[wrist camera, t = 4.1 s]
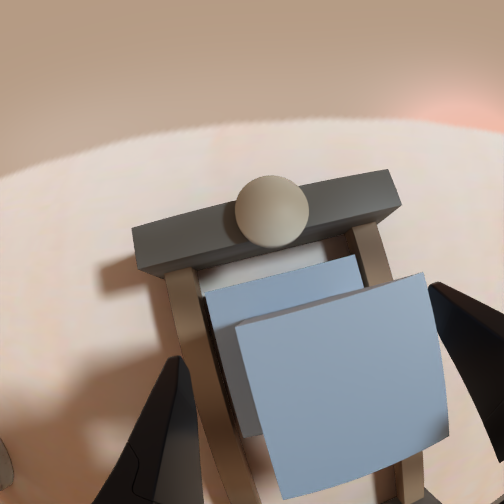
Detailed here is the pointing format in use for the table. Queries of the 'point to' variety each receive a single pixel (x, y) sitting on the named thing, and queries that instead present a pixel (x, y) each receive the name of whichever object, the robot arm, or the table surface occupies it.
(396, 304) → the carriage
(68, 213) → the table surface
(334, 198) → the track
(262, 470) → the table surface
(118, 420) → the table surface
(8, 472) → the thermos bottle
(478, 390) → the robot arm
